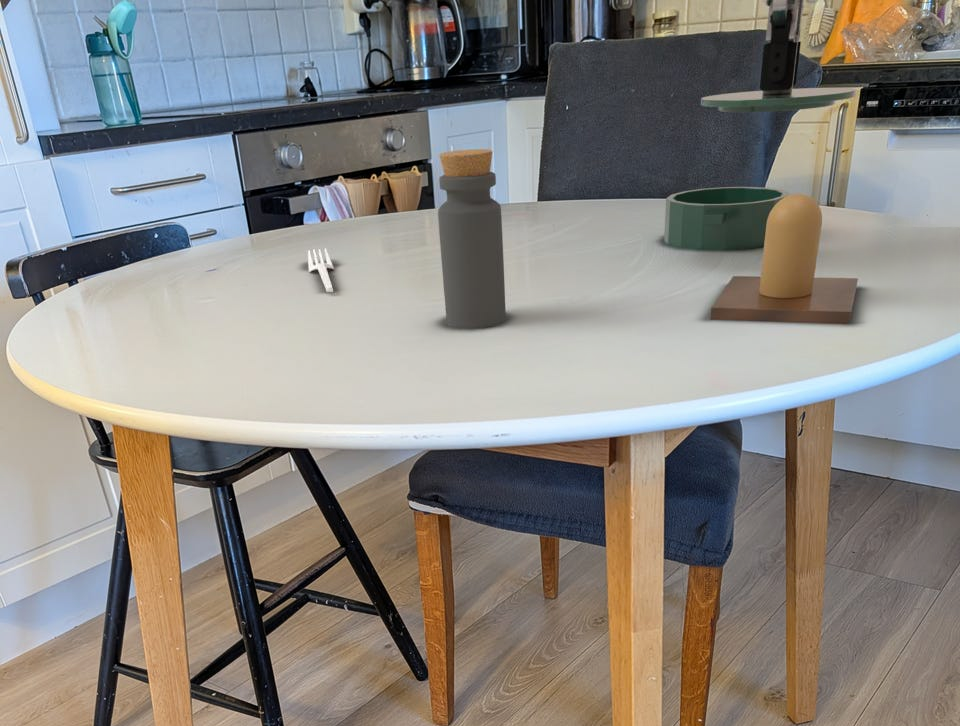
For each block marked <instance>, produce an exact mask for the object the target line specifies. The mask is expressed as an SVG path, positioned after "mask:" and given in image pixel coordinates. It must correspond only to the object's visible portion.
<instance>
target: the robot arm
mask: <svg viewBox="0 0 960 726" xmlns="http://www.w3.org/2000/svg"><path fill="white" fill-rule="evenodd" d="M761 1H762V3H763V4H764V5H766V6H767V7H768V16H767V24H766V25H767V26H766V33H765V44H763V50H762V60H761V70H760V78H759V79H760V80H759V91H771V90H788V89H790V88H791V87H792V85H793V87H795V86H796V85H797V78H798V72H799V71H798V69H799V61H800V54H801V53H800V52H801V46H802V45H801V43H802V41H800V39H801V38H800V37H801V31H802V20H803V14H804V13H803V12H804V3H805V2H806V3H807V4H815V3H817V1H818V0H761ZM795 35H798V36H799V37H798V46H797V42H794V41H795ZM796 51H797V54H796ZM795 59H796V63H795ZM794 68H795V71H794ZM793 77H794V80H793Z"/></svg>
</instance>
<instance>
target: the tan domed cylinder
mask: <svg viewBox="0 0 960 726" xmlns="http://www.w3.org/2000/svg"><path fill="white" fill-rule="evenodd" d="M822 225H823V214H822V209H821V206H820V205H819V204H818V202H817V201H816V200H815V199H814V198H812V197H811V196H809V195H806V194H803V193H794V194H789V196H787V197H785V198H783V199H781V200H780V201H779V202H778V203H777V204H776V205H775V206H774V207H773V208H772V210H771V212H770V214H769V216H768V219H767V224H766V233H765V242H764V246H763V253H762V263H761V271H760V273H761V274H760V277H761V279H760V288H759V293H760V294H761V295H764V296H767V297H773V298H798V297H804V296H807V295H810V294H811V293H812V289H813V282H814V278H815V275H816V267H817V260H818V255H819V245H820V239H821V233H822V227H823V226H822Z"/></svg>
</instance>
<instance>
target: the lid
mask: <svg viewBox="0 0 960 726" xmlns="http://www.w3.org/2000/svg"><path fill="white" fill-rule="evenodd" d="M798 37H799V36H798V35H795V41H794V42H797V46H798ZM796 54H797V51H796ZM795 63H796V59H795ZM794 71H795V68H794ZM793 80H794V77H793ZM856 96H857V89H856V88H853V87H852V88H851V87H850V88H849V87H807V88H805V87H804V88H794V86H793V85H792V87H791V88H790V89H788V90H771V91H762V90H754V91H753V90H752V91H751V90H750V91H740V92H731V93H721V94H713V95H707V96H703V97H701V99H700V106H701V107H708V108H718V111H719V112H723V113H765V112H767V113H769V112H785V111H798V110H810V109H819V108H825V107H831V106H834V105H835V104H836V101H842V100H848V99H853V98H855V97H856Z"/></svg>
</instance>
